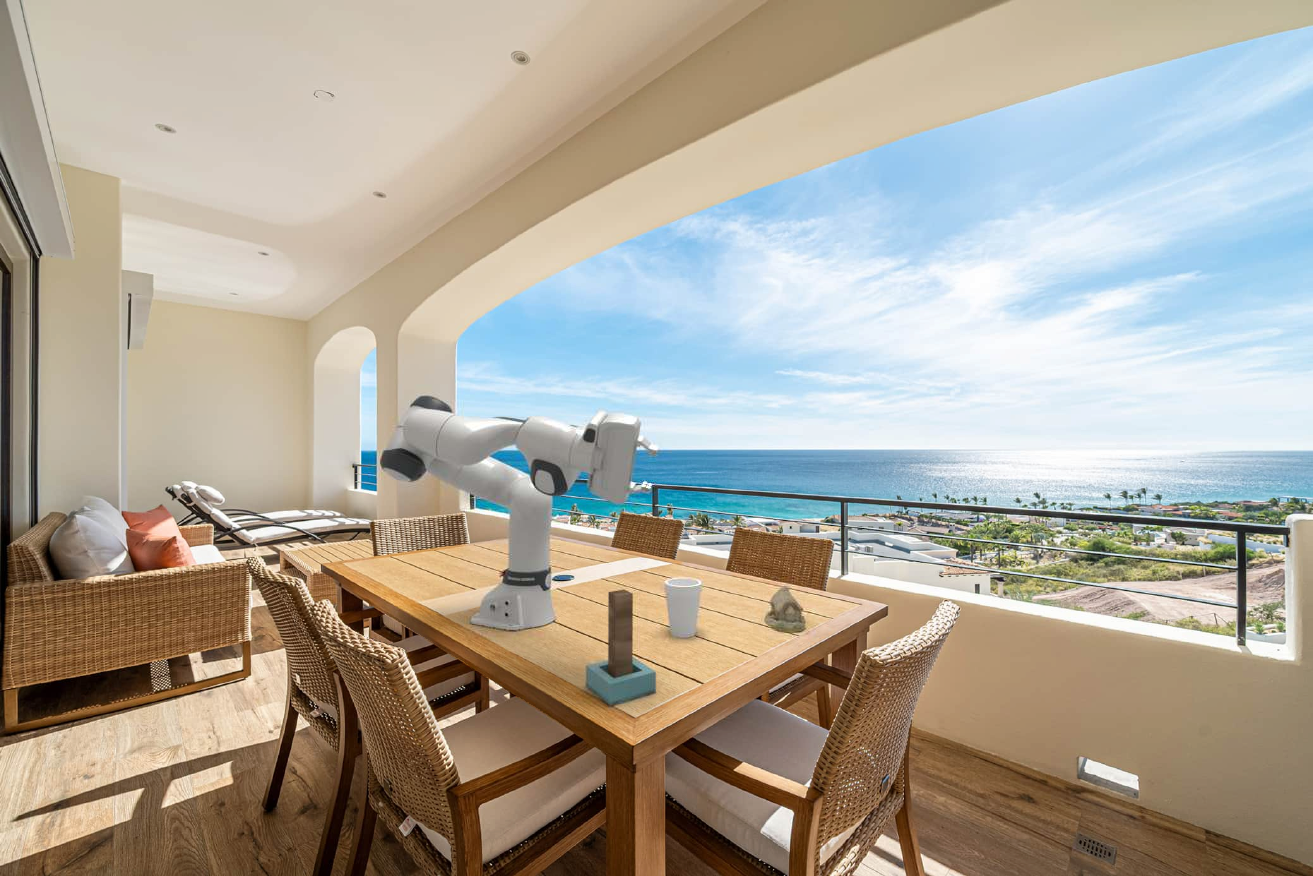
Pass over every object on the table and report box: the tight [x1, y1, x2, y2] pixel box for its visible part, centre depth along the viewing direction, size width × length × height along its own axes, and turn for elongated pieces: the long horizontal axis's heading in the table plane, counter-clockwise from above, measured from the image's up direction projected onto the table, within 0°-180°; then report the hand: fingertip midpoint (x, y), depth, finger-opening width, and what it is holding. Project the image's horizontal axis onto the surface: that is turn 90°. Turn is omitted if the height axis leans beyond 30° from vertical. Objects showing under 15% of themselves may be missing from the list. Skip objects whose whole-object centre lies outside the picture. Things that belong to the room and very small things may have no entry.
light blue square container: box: [585, 656, 657, 707], centre depth 105 cm, size 10×10×4 cm
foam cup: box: [664, 577, 703, 639], centre depth 136 cm, size 10×9×13 cm
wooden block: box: [607, 589, 634, 678], centre depth 105 cm, size 4×4×18 cm
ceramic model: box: [764, 585, 806, 633], centre depth 144 cm, size 14×11×10 cm
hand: (654, 470), depth 109 cm, fingers open, 8 cm apart
